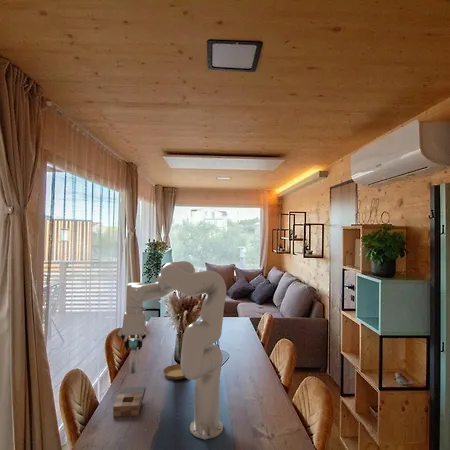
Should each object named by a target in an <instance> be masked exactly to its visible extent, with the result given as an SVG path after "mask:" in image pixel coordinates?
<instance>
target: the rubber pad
mask: <svg viewBox="0 0 450 450" xmlns="http://www.w3.org/2000/svg"><path fill="white" fill-rule="evenodd" d="M145 389H146V386H131V387H128V386H127V387H123V388H122V390H121V393H120V394H133V393H142V398H143V399H144V392H145V391H146V390H145Z"/></svg>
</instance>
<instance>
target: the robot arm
mask: <svg viewBox="0 0 450 450" xmlns="http://www.w3.org/2000/svg"><path fill="white" fill-rule="evenodd" d="M195 270H196V269H195V267H194V265H193V263H191V261H186V260H185V261H184V260H183V261H171V262H167V263H166V264H164V265H163V266H162V268H161V270H160V273H159V275H158V276H157V281H156V282H151V283H145V284H143V283H142V282H129V283H128V284H127V285H126V292H125V294H126V295H125V299H126V300H125V312H124V314H123V320H122V327H121V328H120V329H119V330H118V332H117V333H116V334H117V335H118V336H119V337H120V338H121V339H122V340H123V341H124V349H125V351H128V350H129V348H128V339H129V336H138V339H139V344H138V347H137V348H138V349H137V351H138V350H140V351H141V348H142V347H143V340H144V339H145V338H146V337H147V336H149V335H150V334H151V332H150V330H149V328H148V327H147V326H146V314H145V311H146V310H147V307H146V306H144V303H145V302H150V301H155V300H159V299H161V298H163V297H165V296H167V295H169V294H171V292H172V291H173V290H176V291H177V292H180V293H181V294H182V295H185V296H187V297H195V296H200V295H203V294H206V296H205V298H204V300H203V302H202V305H201V310H200V311H201V312H200V318H199V320H198V321H194V322H192V323H190V324H189V325H187V326H186V327H185V330H184V332H183V334H182V342H181V343H182V344H181V345H182V346H181V351H180V353H181V354H180V364H181V370H182V373H183V375H184V376H185V379H187V380H189V381H194V380H195V381H194V408H193V409H194V410H193V413H194V414H193V421H191V423H190V425H189V431H190V433H191V434H192V435H193V436H194V437H195V438H199V439H203V440H208V439H209V440H210V439H215V438H216V437H218V436H219V435H221V434H222V432H223V430H224V424H223V422H222V421H221V420H220V386H221V384H220V383H221V371H222V367H223V366H222V365H223V358H224V357H223V352H222V350H221V348H220V347H219V346H218V345H216V344H215V343H217V342H218V341H219V340H220V339H221V336H222V331H223V320H224V309H225V302H226V297H227V285H226V281H225V280H224V278H223V276H222V275H221V274H220V273H219V272H216V271H214V270H204V271H203V270H202V271H195Z"/></svg>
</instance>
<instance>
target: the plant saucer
mask: <svg viewBox="0 0 450 450" xmlns="http://www.w3.org/2000/svg"><path fill="white" fill-rule="evenodd" d="M162 373H163V374H164V376H165V377H167V378H168V379H171V380H182V379H186V377H185V376H184V375H183V373H182V370H181V363H178V364H172V365H168V366H166V367H164V368H163V370H162Z"/></svg>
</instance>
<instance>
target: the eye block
mask: <svg viewBox="0 0 450 450" xmlns="http://www.w3.org/2000/svg"><path fill="white" fill-rule="evenodd" d="M142 401H143V400H142V393H133V394H121V393H118V394H117V396H116V398H115V402H114V404H113V409H112V410H113V413H112V417H127V416H128V417H129V416H131V417H132V416H133V417H134V416H140V415H139V414H140V410H141V406H142Z"/></svg>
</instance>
